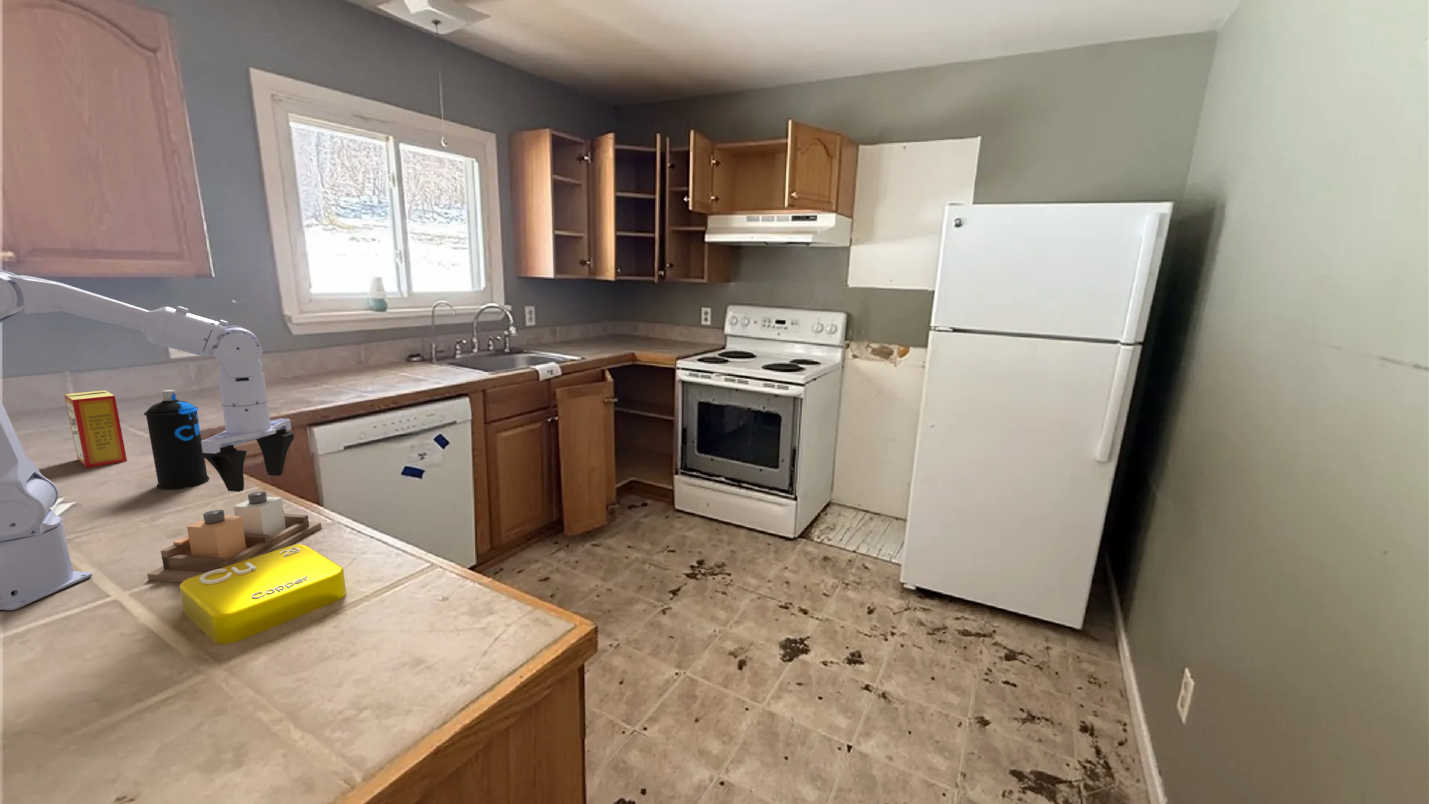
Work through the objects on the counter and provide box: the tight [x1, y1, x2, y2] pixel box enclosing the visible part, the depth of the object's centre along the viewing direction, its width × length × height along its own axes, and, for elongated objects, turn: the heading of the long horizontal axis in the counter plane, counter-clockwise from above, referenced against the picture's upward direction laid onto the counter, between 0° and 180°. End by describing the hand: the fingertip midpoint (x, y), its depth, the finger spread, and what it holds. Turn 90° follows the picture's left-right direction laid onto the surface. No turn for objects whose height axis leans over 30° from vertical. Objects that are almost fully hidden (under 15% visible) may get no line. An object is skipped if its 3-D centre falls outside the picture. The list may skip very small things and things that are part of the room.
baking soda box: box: [63, 389, 128, 469], centre depth 131 cm, size 10×6×16 cm
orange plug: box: [186, 509, 246, 561], centre depth 88 cm, size 4×4×7 cm
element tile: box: [179, 543, 347, 645], centre depth 79 cm, size 15×15×5 cm
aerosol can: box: [143, 389, 210, 491], centre depth 119 cm, size 8×8×20 cm
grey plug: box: [233, 490, 286, 537], centre depth 96 cm, size 4×4×7 cm
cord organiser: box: [146, 513, 322, 584], centre depth 93 cm, size 20×11×4 cm, turn 176°
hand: (256, 482), depth 95 cm, fingers open, 7 cm apart
